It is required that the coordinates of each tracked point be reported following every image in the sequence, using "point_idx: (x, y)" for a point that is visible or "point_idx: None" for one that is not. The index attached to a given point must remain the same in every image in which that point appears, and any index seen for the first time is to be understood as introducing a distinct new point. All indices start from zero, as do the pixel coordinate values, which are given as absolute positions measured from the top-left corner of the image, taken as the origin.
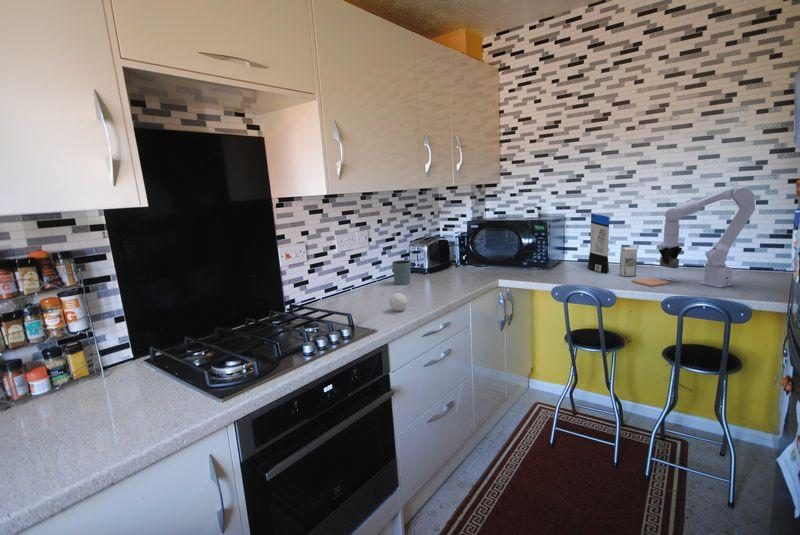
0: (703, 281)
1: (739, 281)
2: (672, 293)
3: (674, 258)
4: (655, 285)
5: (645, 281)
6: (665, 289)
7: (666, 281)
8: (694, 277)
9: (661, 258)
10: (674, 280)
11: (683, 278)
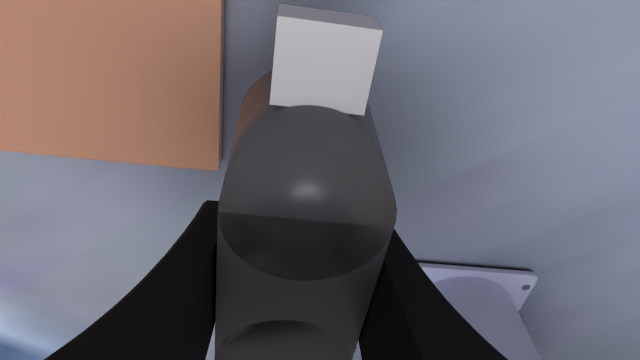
0: (458, 271)
1: (625, 339)
2: (7, 300)
3: (330, 344)
4: (22, 146)
5: (1, 11)
6: (41, 230)
7: (207, 144)
8: (632, 142)
9: (220, 196)
10: (391, 104)
11: (533, 107)
